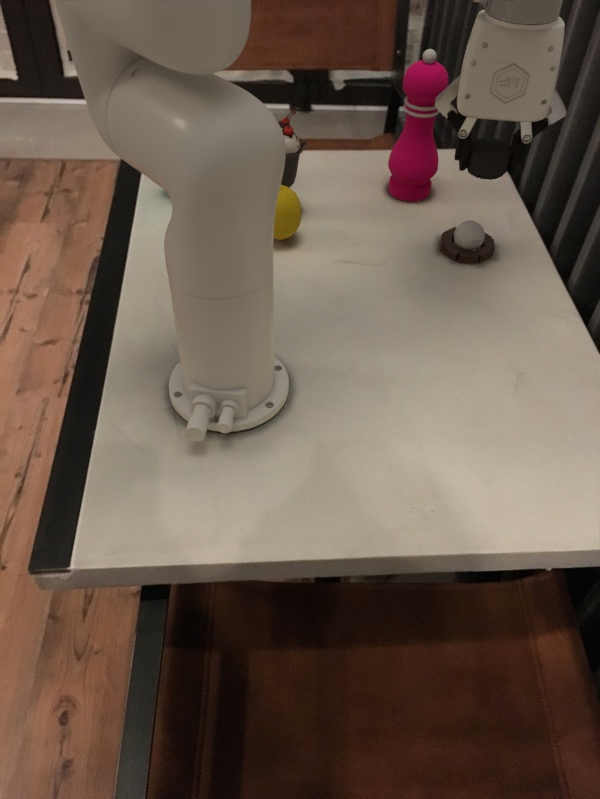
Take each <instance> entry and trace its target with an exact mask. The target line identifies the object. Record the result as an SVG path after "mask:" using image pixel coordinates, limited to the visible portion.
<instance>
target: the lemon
mask: <svg viewBox="0 0 600 799" xmlns="http://www.w3.org/2000/svg"><path fill="white" fill-rule="evenodd" d="M301 222H302V205H301V200H300V198H299V196H298V194H297V192H295V191H294V190H293V189H292V188H291V187H290V188H289V187H286V186H283V185H280V190H279V194H278V199H277V205H276V211H275V219H274V235H273V239H276V240H278V241H283V240H285V239H288V238H290V237H292V236H293V235H294V234H295V233H297V231H298V229H299V227H300V225H301Z"/></svg>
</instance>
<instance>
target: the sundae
mask: <svg viewBox="0 0 600 799" xmlns="http://www.w3.org/2000/svg"><path fill="white" fill-rule="evenodd" d="M296 114H297V111H295V110H294V109H291V111H290V112H289V113H288V114H287V115H286V117H283V118H281V119H280V120H277V121H278V123H279V125H280V128H281V130H282V133H283V136H284V140H285V148H286V157H285V166H284V172H283V177H282V181H281V185H283V186H286V187H289V188H290V189H291V187H292V186H293V185H294V184H295V181H296V178H297V174H298V168H299V161H300V156H301V154H302V153H303V151H304V150H305V148H306V146H307V145H308V144H307V141H305V139H303V138H301V137H299V136H298V135H297V134H296V133H295V130H294V128H293V126H292V125H291V120H290V119H291V118H292V116H294V115H296Z"/></svg>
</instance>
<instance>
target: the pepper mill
mask: <svg viewBox="0 0 600 799" xmlns="http://www.w3.org/2000/svg"><path fill="white" fill-rule="evenodd" d="M436 59H437V52H436V51H435V49H432V48H428V49H426V50H424V51H423V53H422V59H421V60H417V61H415V62H414V63H412V64H410V65H409V67H407V69H406V71H405V73H404V75H403V79H402V90H403V92H404V94H405V95H406V96H405V97H404V100H403V102H404V104H403V107H402V109H403V111H404V113H405V119H404V120H405V121H404V126H403V129H402V132H401V133H400V135H399V137H398V138H397V140H396V142H395V144H394V145H393V147H392V149H391V151H390V154H389V157H388V161H387V168H388V170H389V172H390V174H391V175H390V177H389V179H388V188H387V190H388V192H389V194H390V195H391V196H392V197H393V198H395V199H398V200H400V201H403V202H411V203H413V202H420V201H424V200H425V199H427V198H428V197H430V194H431V190H432V185H433V183H432V179H433V177H435V175H436V174H437V172H438V170H439V159H440V158H439V153H438V148H437V145H436V142H435V137H434V125H435V121H436V116H437V115H439V114H440V111H439V110H438V109H437V108H436V107H435V98H436V97H437V96H438V95H439V94H440V93H441V92H442V91H443V90H445V89H446V88H447V87H448V86H449V73H448V71H447V70H446V68H445V66H444V65H443V64H442V63H440V62H439V61H436Z"/></svg>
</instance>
